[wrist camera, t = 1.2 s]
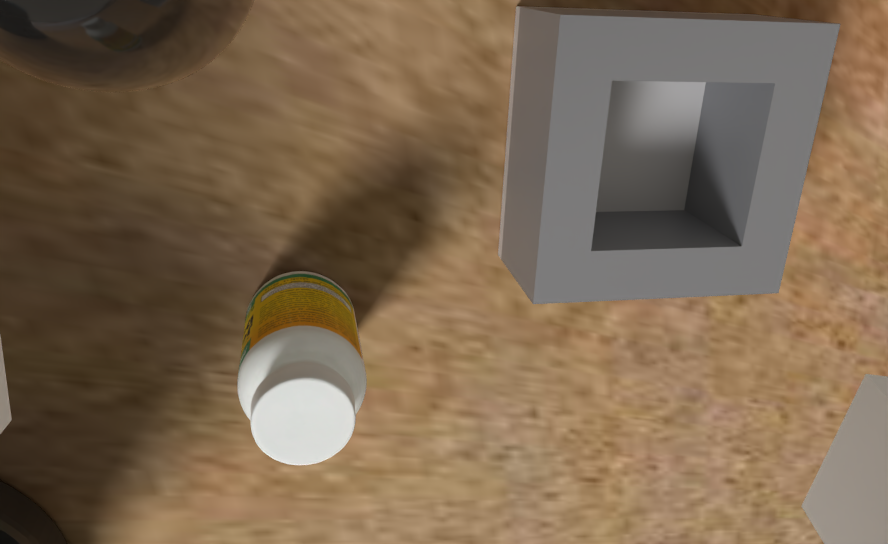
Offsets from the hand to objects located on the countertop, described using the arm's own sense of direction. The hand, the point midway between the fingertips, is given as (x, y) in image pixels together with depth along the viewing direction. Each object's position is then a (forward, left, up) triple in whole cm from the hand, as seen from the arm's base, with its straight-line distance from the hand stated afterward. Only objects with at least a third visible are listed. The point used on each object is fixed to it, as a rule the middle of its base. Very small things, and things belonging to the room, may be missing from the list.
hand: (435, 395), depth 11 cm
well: (-1, -14, -25) cm, 28 cm away
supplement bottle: (-10, +2, -25) cm, 27 cm away
